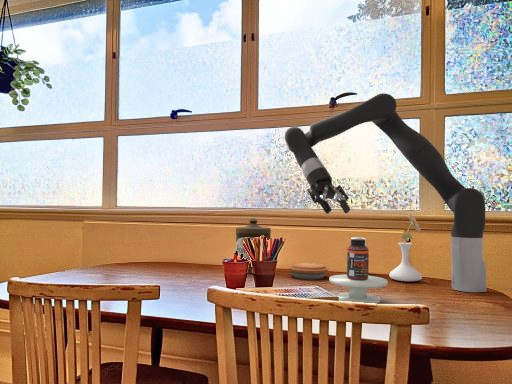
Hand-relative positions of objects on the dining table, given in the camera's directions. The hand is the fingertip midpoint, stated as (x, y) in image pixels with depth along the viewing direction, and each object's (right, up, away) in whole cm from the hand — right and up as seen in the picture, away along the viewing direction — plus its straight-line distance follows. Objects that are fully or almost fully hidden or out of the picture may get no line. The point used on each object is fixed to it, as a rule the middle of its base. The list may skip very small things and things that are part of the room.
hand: (338, 211), depth 123 cm
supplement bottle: (+3, -19, -12) cm, 22 cm away
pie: (-6, -27, +26) cm, 38 cm away
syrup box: (+16, -27, +36) cm, 48 cm away
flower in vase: (+29, -27, +20) cm, 45 cm away
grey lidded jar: (-27, -27, +38) cm, 54 cm away
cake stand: (+3, -24, -13) cm, 28 cm away
